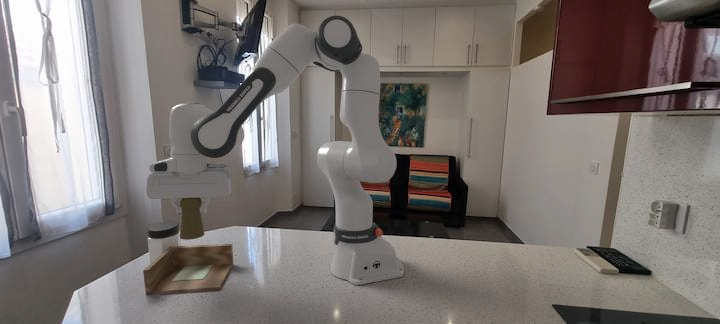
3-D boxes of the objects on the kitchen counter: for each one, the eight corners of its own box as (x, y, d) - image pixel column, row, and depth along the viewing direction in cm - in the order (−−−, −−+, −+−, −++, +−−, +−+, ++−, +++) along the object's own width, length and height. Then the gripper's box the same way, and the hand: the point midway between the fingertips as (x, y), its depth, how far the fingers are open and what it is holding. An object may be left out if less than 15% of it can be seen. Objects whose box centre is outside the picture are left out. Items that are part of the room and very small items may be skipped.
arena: (233, 264, 94) (232, 243, 93) (219, 289, 80) (217, 266, 79) (171, 267, 91) (169, 246, 90) (145, 294, 77) (143, 270, 76)
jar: (154, 257, 97) (151, 222, 95) (183, 253, 100) (180, 219, 98) (147, 271, 89) (143, 232, 87) (179, 266, 92) (176, 229, 90)
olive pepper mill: (174, 238, 81) (172, 199, 79) (188, 231, 87) (187, 193, 85) (196, 240, 80) (194, 200, 79) (208, 232, 86) (207, 194, 85)
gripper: (232, 162, 87) (233, 208, 89) (152, 162, 82) (154, 211, 83) (229, 165, 81) (230, 214, 83) (141, 165, 76) (145, 218, 77)
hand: (191, 213), depth 83 cm, fingers closed on olive pepper mill, 4 cm apart
